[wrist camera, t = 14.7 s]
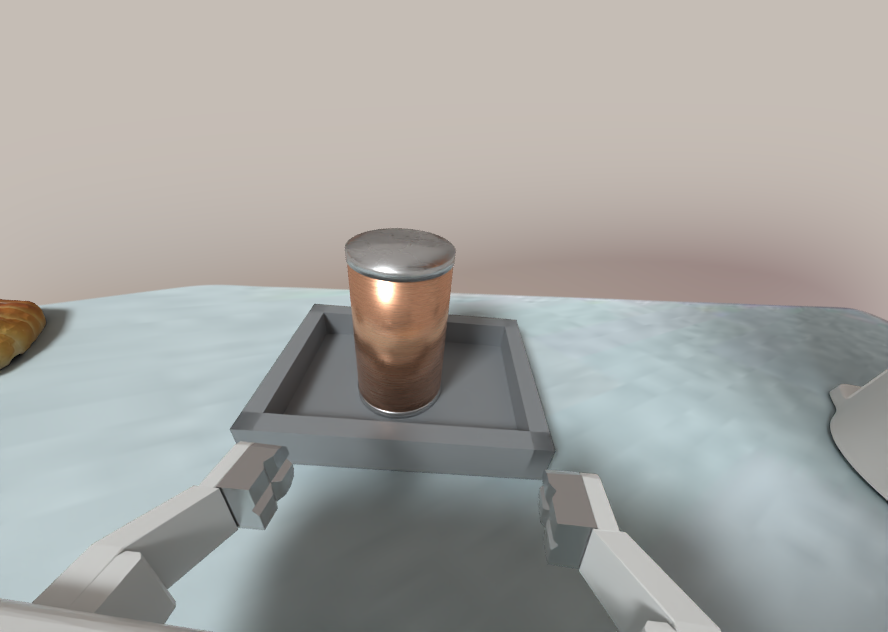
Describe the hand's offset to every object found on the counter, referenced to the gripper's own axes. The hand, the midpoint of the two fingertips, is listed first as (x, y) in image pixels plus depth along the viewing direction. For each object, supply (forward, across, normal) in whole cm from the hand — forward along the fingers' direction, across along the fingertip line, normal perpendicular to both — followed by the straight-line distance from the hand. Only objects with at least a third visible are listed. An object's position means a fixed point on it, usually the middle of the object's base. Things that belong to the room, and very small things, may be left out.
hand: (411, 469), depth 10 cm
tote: (+12, +3, +7) cm, 15 cm away
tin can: (+12, +4, +6) cm, 14 cm away
